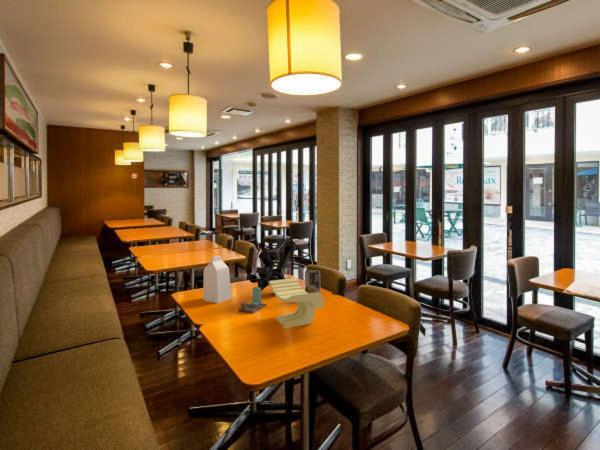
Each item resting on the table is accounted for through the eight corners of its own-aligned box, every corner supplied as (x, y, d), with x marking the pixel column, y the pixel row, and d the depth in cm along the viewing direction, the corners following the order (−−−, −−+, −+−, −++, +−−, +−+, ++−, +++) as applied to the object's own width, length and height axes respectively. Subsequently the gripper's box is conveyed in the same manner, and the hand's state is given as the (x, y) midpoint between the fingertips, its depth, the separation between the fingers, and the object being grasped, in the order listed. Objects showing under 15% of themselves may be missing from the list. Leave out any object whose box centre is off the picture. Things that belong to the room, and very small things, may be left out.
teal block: (254, 302, 209) (254, 287, 208) (261, 303, 208) (260, 287, 207) (246, 307, 201) (246, 291, 200) (253, 308, 199) (252, 291, 198)
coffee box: (320, 296, 226) (320, 270, 224) (320, 299, 219) (320, 272, 218) (305, 295, 226) (305, 269, 225) (304, 298, 220) (304, 272, 219)
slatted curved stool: (323, 328, 172) (323, 291, 170) (292, 334, 166) (291, 295, 164) (297, 310, 199) (297, 277, 198) (269, 314, 193) (269, 281, 191)
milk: (217, 303, 213) (216, 258, 210) (203, 300, 218) (201, 257, 216) (231, 298, 223) (230, 255, 221) (217, 295, 229) (216, 254, 226)
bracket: (252, 303, 211) (251, 296, 211) (265, 305, 208) (265, 298, 207) (238, 311, 198) (238, 303, 198) (253, 313, 195) (253, 305, 194)
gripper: (248, 260, 216) (238, 283, 207) (277, 262, 208) (268, 286, 199) (255, 270, 224) (246, 293, 214) (283, 273, 216) (275, 296, 207)
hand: (258, 292), depth 209 cm, fingers closed
